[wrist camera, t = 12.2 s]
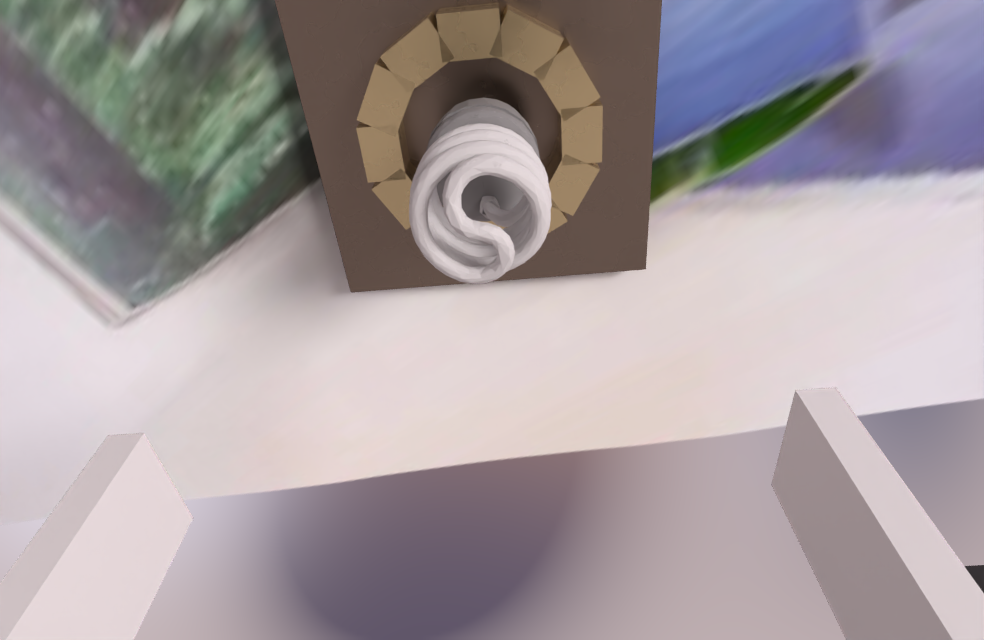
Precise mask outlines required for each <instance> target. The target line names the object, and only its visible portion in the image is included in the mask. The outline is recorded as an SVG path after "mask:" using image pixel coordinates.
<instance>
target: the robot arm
mask: <svg viewBox="0 0 984 640" xmlns="http://www.w3.org/2000/svg"><path fill="white" fill-rule="evenodd" d="M771 485H772V487H773V489H774V491H775V493H776V495H777V497H778V499H779V502H780V504H781V506H782V508H783V510H784V512H785V514H786V516H787V518H788V520H789V522H790V524H791V526H792V529H793V531H794V533H795V534H796V537H797V539H798V541H799V543H800V545H801V547H802V549H803V551H804V553H805V555H806V558H807V560H808V562H809V564H810V566H811V568H812V570H813V572H814V574H815V576H816V578H817V580H818V582H819V584H820V587H821V589H822V591H823V593H824V595H825V597H826V599H827V601H828V603H829V605H830V607H831V609H832V611H833V613H834V615H835V618H836V620H837V622H838V624H839V626H840V628H841V630H842V632H843V634H844V636H845V638H846V640H984V565H978V566H964V565H963V564H962V563H961V561H960V560H959V558H958V557H957V555H956V554H955V553H954V551H953V550H952V548H951V547H950V546H949V544H948V543H947V542H946V540H945V539H944V537H943V536H942V535H941V533H940V532H939V530H938V529H937V528H936V526H935V525H934V523H933V522H932V521H931V519H930V518H929V517H928V515H927V514H926V512H925V511H924V509H923V508H922V507H921V505H920V504H919V502H918V501H917V500H916V498H915V497H914V495H913V494H912V493H911V491H910V490H909V488H908V487H907V486H906V484H905V483H904V482H903V480H902V479H901V477H900V476H899V475H898V473H897V472H896V470H895V469H894V468H893V466H892V465H891V463H890V462H889V461H888V459H887V458H886V456H885V455H884V454H883V452H882V451H881V449H880V448H879V447H878V445H877V444H876V443H875V441H874V440H873V438H872V437H871V436H870V434H869V433H868V431H867V430H866V429H865V427H864V426H863V424H862V423H861V422H860V420H859V419H858V417H857V416H856V415H855V413H854V412H853V410H852V409H851V408H850V406H849V405H848V403H847V402H846V401H845V399H844V398H843V396H842V395H841V394H840V392H839V391H838V390H837V388H836V387H833V388H818V389H803V390H795V394H794V398H793V402H792V406H791V410H790V413H789V417H788V421H787V425H786V430H785V433H784V437H783V441H782V445H781V449H780V453H779V457H778V460H777V465H776V468H775V472H774V476H773V480H772V484H771ZM192 520H193V517H192V515H191V513H190V511H189V510H188V508H187V506H186V505H185V503H184V501H183V499H182V498H181V496H180V494H179V492H178V491H177V489H176V487H175V485H174V484H173V482H172V480H171V479H170V477H169V475H168V473H167V472H166V470H165V468H164V467H163V465H162V463H161V461H160V460H159V458H158V456H157V455H156V453H155V451H154V449H153V448H152V446H151V444H150V442H149V441H148V439H147V437H146V436H145V434H144V433H136V434H121V435H108V436H107V438H106V439H105V440H104V442H103V443H102V444H101V446H100V447H99V449H98V450H97V451H96V453H95V454H94V455H93V457H92V458H91V459H90V461H89V462H88V464H87V465H86V466H85V468H84V469H83V470H82V472H81V473H80V474H79V476H78V477H77V479H76V480H75V481H74V483H73V484H72V485H71V487H70V488H69V490H68V491H67V492H66V494H65V495H64V496H63V498H62V499H61V500H60V502H59V503H58V505H57V506H56V507H55V509H54V510H53V511H52V513H51V514H50V515H49V517H48V518H47V520H46V521H45V522H44V524H43V525H42V527H41V528H40V529H39V531H38V532H37V533H36V535H35V536H34V537H33V539H32V540H31V541H30V543H29V544H28V546H27V547H26V548H25V550H24V551H23V552H22V554H21V555H20V557H19V558H18V559H17V560H16V562H15V563H14V565H13V566H12V567H11V569H10V570H9V571H8V573H7V574H6V575H5V577H4V578H3V580H2V581H1V582H0V640H134V638H135V636H136V634H137V632H138V630H139V628H140V626H141V624H142V622H143V620H144V618H145V615H146V613H147V611H148V609H149V607H150V605H151V603H152V601H153V599H154V597H155V595H156V593H157V591H158V589H159V587H160V585H161V583H162V581H163V579H164V577H165V575H166V573H167V571H168V569H169V567H170V565H171V563H172V561H173V559H174V557H175V555H176V553H177V551H178V548H179V546H180V545H181V543H182V540H183V538H184V536H185V534H186V532H187V530H188V528H189V526H190V524H191V522H192Z"/></svg>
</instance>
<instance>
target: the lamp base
mask: <svg viewBox="0 0 984 640" xmlns="http://www.w3.org/2000/svg"><path fill="white" fill-rule="evenodd" d="M275 3H276V7H277V11H278V15H279V18H280V22H281V26H282V30H283V34H284V38H285V42H286V45H287V49H288V53H289V57H290V61H291V65H292V68H293V72H294V76H295V80H296V84H297V88H298V91H299V95H300V99H301V103H302V107H303V111H304V114H305V118H306V122H307V126H308V130H309V134H310V137H311V141H312V145H313V149H314V153H315V157H316V160H317V164H318V168H319V172H320V176H321V180H322V183H323V187H324V191H325V195H326V199H327V203H328V206H329V210H330V214H331V218H332V222H333V226H334V229H335V233H336V237H337V241H338V245H339V249H340V252H341V256H342V260H343V264H344V268H345V272H346V275H347V279H348V283H349V287H350V291H351V292H362V291H375V290H387V289H400V288H413V287H425V286H438V285H451V284H464V282H459V281H457V280H455V279H453V278H451V277H449V276H446V275H445V274H443V273H442V272H440V271H439V270H438V269H436V268H435V267H434V266H433V265H432V264H431V263H430V262H429V261H428V260H427V259H426V258H425V257H424V255H423V254H422V252H421V250H420V249H419V247H418V246H417V244H416V242H415V240H414V237H413V234H412V230H411V226H410V221H409V202H410V188H411V185H412V181H413V178H414V175H415V173H416V170H417V167H418V165H419V163H420V161H421V159H422V157H423V155H424V154H425V152H426V149H427V146H428V142H429V139H430V135H431V133H432V131H433V130H434V128H435V127H436V125H437V124H438V123H439V121H440V120H441V118H442V117H443V116H444V115H445V114H446V113H447V112H448V111H449V110H451V109H452V108H453V107H454V106H455V105H456V104H459V103H462V102H464V101H467V100H469V99H477V98H490V99H497V100H499V101H502V102H504V103H506V104H509V105H510V106H511V107H513V108H514V109H515V110H516V111H517V112H518V113H519V114H520V115H521V116H522V117H523V118H524V119H525V120H526V121H527V122H528V124H529V126H530V128H531V130H532V132H533V134H534V136H535V138H536V140H537V145H538V150H539V155H540V160H541V162H542V164H543V166H544V167H545V170H546V173H547V176H548V183H549V188H550V192H551V204H552V206H551V221H550V228H549V230H548V233H547V236H546V238H545V240H544V242H543V244H542V245H541V247H540V249H539V250H538V251H537V252H536V253H535V255H533V256H532V257H531V258H530V259H528V260H527V261H526V262H525V263H523V264H521V265H520V266H518V267H516V268H514V269H512V270H509V271H507V272H506V273H505V274H503V275H502V276H501V277H499V278H498V279H497V280H494V281H502V280H515V279H527V278H540V277H553V276H566V275H578V274H591V273H604V272H617V271H629V270H642V269H646V256H647V239H648V222H649V206H650V189H651V173H652V156H653V139H654V123H655V106H656V90H657V73H658V56H659V40H660V23H661V6H662V0H275ZM442 206H443V205H442ZM480 222H484V221H480ZM487 223H491V224H493V225H496V224H495V223H494V222H492V221H488V222H487ZM496 226H499V225H496ZM499 227H500V228H501V229H504V228H507V227H502V226H499Z"/></svg>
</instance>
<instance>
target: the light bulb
mask: <svg viewBox="0 0 984 640" xmlns="http://www.w3.org/2000/svg"><path fill="white" fill-rule="evenodd" d="M442 205H443V206H442ZM551 206H552V204H551V192H550V188H549V183H548V176H547V173H546V170H545V167H544V166H543V164H542V162H541V160H540V155H539V150H538V145H537V140H536V138H535V136H534V134H533V132H532V130H531V128H530V126H529V124H528V122H527V121H526V120H525V119H524V118H523V117H522V116H521V115H520V114H519V113H518V112H517V111H516V110H515V109H514V108H513V107H511V106H510V105H509V104H506V103H504V102H502V101H499V100H497V99H490V98H477V99H469V100H467V101H464V102H462V103H459V104H456V105H455V106H454V107H453V108H452V109H451V110H449V111H448V112H447V113H446V114H445V115H444V116H443V117H442V118H441V120H440V121H439V123H438V124H437V125H436V127H435V128H434V130H433V131H432V133H431V135H430V139H429V142H428V146H427V149H426V152H425V154H424V155H423V157H422V159H421V161H420V163H419V165H418V167H417V170H416V173H415V175H414V178H413V181H412V185H411V188H410V202H409V221H410V226H411V230H412V234H413V237H414V240H415V242H416V244H417V246H418V247H419V249H420V250H421V252H422V254H423V255H424V257H425V258H426V259H427V260H428V261H429V262H430V263H431V264H432V265H433V266H434V267H435V268H436V269H438V270H439V271H440V272H442V273H443V274H445V275H446V276H449V277H451V278H453V279H455V280H457V281H459V282H464V283H469V284H485V283H488V282H491V281H494V280H497V279H498V278H499V277H501V276H502V275H503V274H505V273H506V272H507V271H509V270H512V269H514V268H516V267H518V266H520V265H521V264H523V263H525V262H526V261H527V260H528V259H530V258H531V257H532V256H533V255H535V253H536V252H537V251H538V250H539V249H540V247H541V245H542V244H543V242H544V240H545V238H546V236H547V233H548V230H549V228H550V221H551ZM480 221H484V222H480ZM488 221H492V222H494V223H495V224H496V225H499V226H502V227H507V228H504V229H501V228H500V227H499V226H496V225H493V224H491V223H487V222H488Z"/></svg>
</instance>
